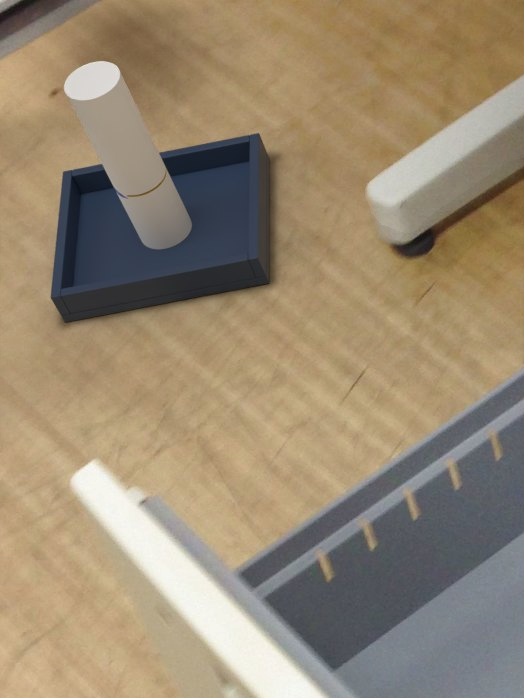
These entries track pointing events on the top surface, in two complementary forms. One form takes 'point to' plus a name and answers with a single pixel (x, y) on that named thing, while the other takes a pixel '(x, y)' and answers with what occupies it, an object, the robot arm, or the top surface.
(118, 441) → the top surface
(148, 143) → the tube
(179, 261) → the tray
